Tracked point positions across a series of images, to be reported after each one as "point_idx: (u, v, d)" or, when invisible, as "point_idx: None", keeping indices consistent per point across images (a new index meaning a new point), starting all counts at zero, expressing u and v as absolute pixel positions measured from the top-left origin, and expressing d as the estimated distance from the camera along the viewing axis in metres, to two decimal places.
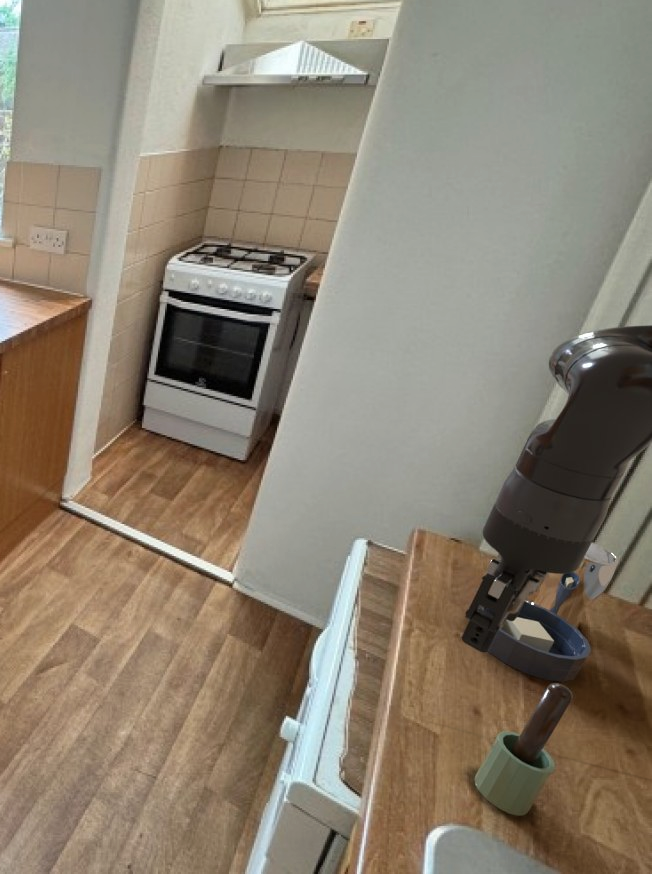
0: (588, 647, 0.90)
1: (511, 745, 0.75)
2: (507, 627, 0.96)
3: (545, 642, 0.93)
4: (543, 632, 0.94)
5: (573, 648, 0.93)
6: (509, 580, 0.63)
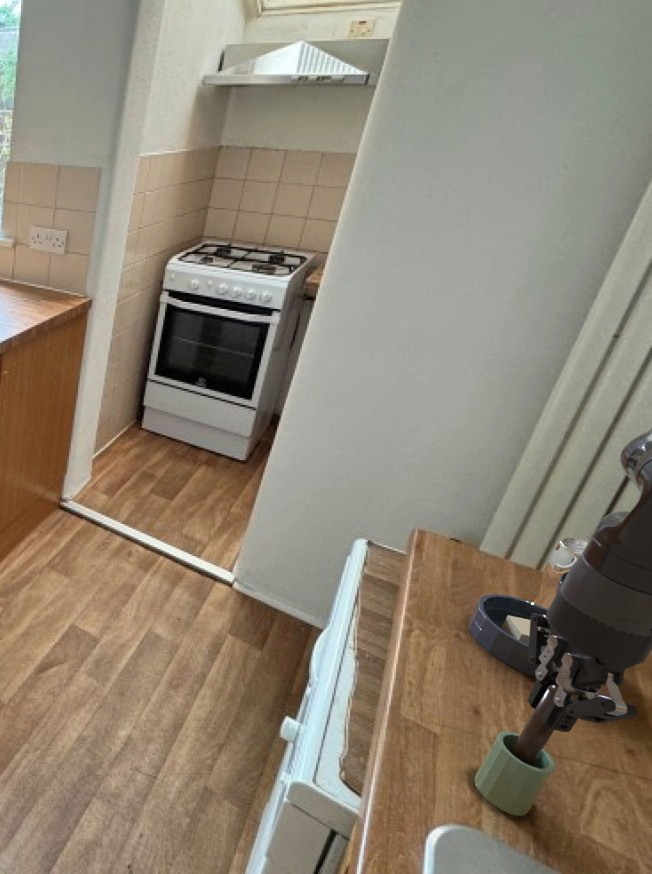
0: None
1: (511, 745, 0.75)
2: (507, 627, 0.96)
3: None
4: None
5: None
6: (620, 695, 0.62)
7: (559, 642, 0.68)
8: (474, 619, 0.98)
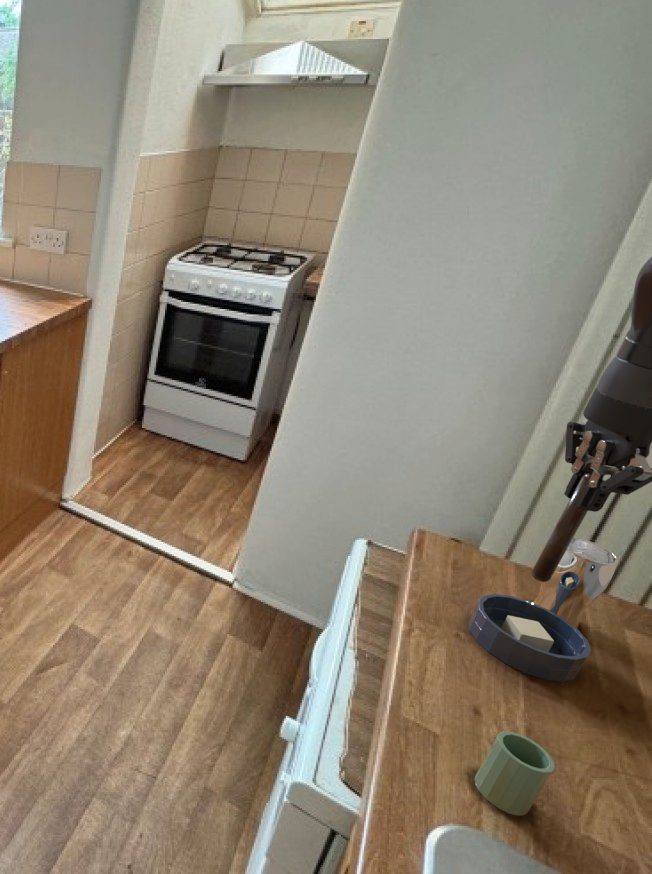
0: (588, 647, 0.90)
1: (511, 745, 0.75)
2: (507, 627, 0.96)
3: (545, 642, 0.93)
4: (543, 632, 0.94)
5: (573, 648, 0.93)
6: (646, 463, 0.76)
7: (594, 435, 0.82)
8: (474, 619, 0.98)
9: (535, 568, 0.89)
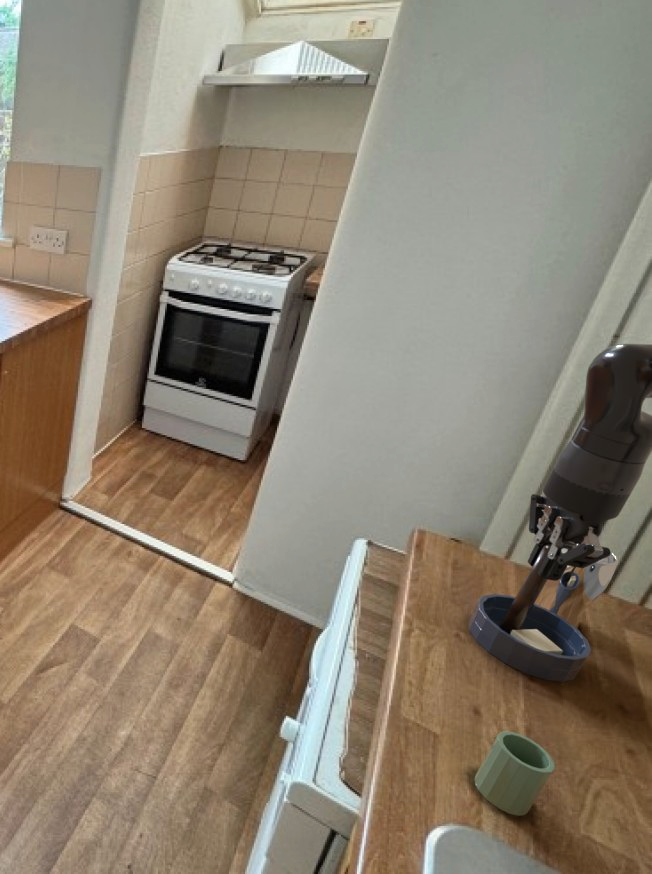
0: (588, 647, 0.90)
1: (511, 745, 0.75)
2: None
3: (556, 653, 0.91)
4: (549, 642, 0.92)
5: (573, 648, 0.93)
6: (598, 541, 0.82)
7: (553, 510, 0.88)
8: (474, 619, 0.98)
9: (501, 627, 0.96)
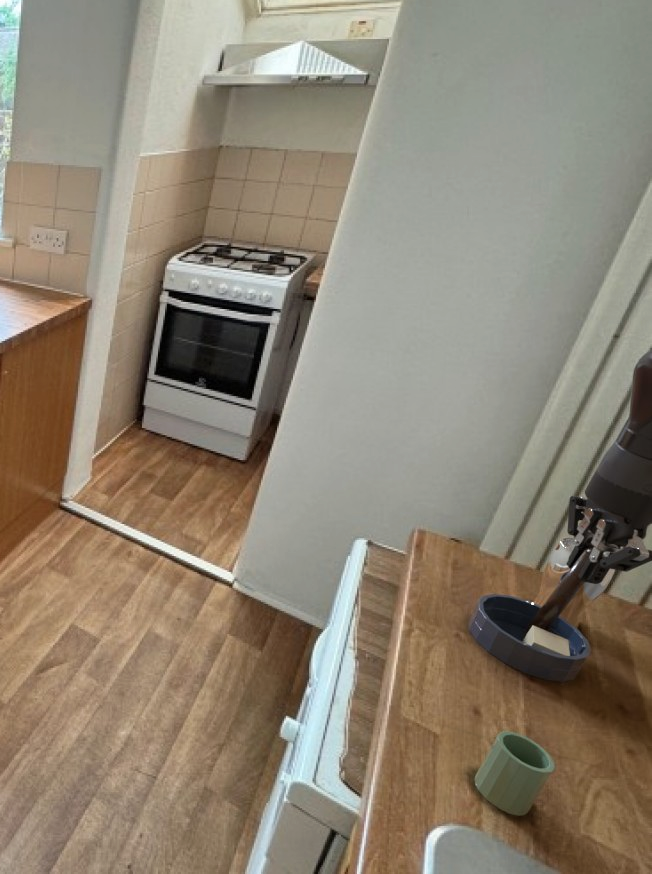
0: (588, 647, 0.90)
1: (511, 745, 0.75)
2: (528, 636, 0.94)
3: None
4: (564, 648, 0.91)
5: (573, 648, 0.93)
6: (643, 544, 0.81)
7: (594, 513, 0.87)
8: (474, 619, 0.98)
9: (528, 625, 0.96)
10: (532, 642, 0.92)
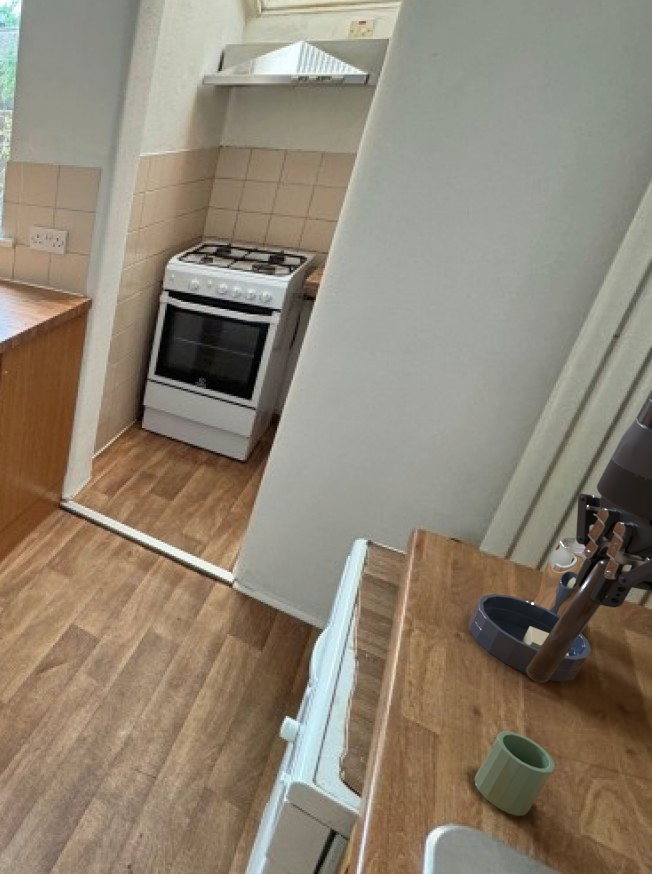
0: (588, 647, 0.90)
1: (511, 745, 0.75)
2: (526, 637, 0.95)
3: None
4: None
5: (573, 648, 0.93)
6: None
7: (610, 514, 0.67)
8: (474, 619, 0.98)
9: (530, 662, 0.75)
10: (531, 642, 0.92)
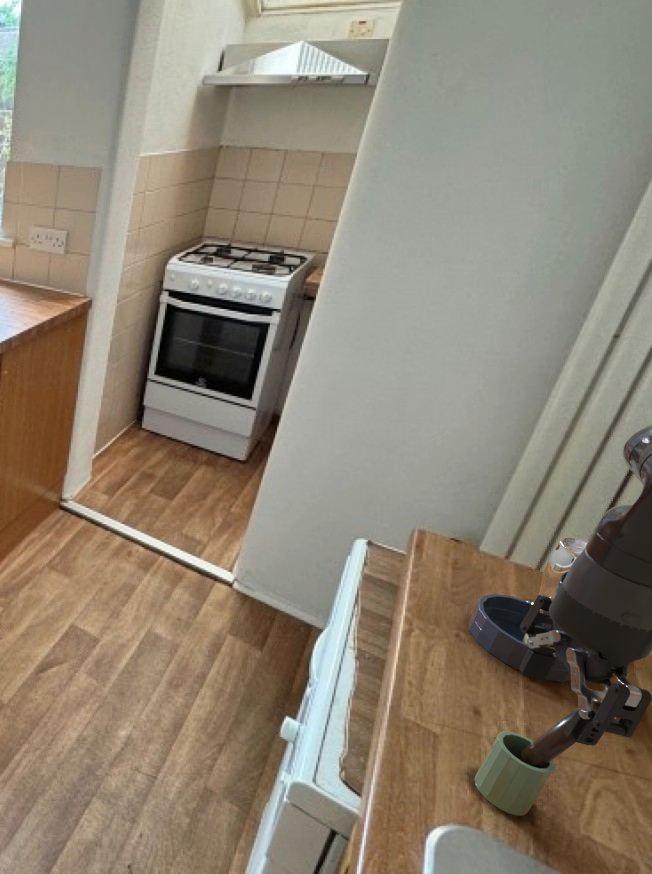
0: None
1: (511, 745, 0.75)
2: (526, 637, 0.95)
3: None
4: None
5: None
6: (629, 681, 0.61)
7: (562, 637, 0.67)
8: (474, 619, 0.98)
9: None
10: None
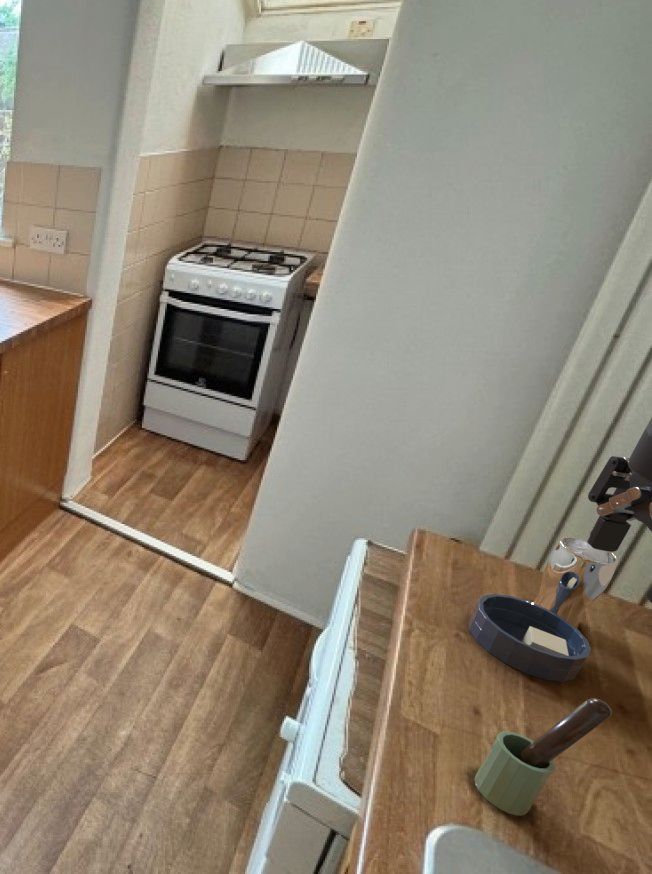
0: (588, 647, 0.90)
1: (511, 745, 0.75)
2: (526, 637, 0.95)
3: None
4: (562, 647, 0.91)
5: (573, 648, 0.93)
6: None
7: (643, 493, 0.60)
8: (474, 619, 0.98)
9: None
10: (531, 642, 0.92)
